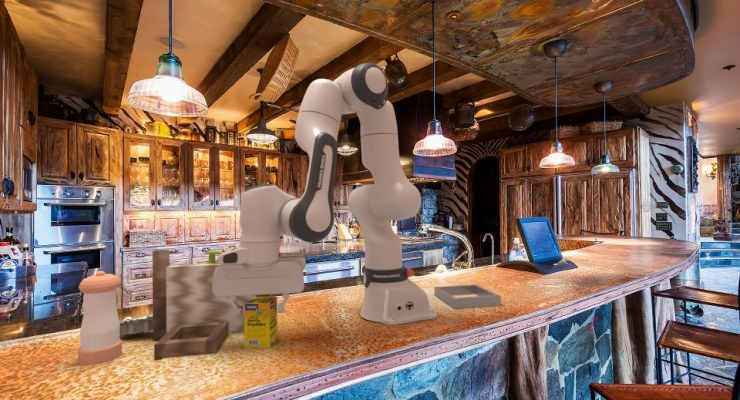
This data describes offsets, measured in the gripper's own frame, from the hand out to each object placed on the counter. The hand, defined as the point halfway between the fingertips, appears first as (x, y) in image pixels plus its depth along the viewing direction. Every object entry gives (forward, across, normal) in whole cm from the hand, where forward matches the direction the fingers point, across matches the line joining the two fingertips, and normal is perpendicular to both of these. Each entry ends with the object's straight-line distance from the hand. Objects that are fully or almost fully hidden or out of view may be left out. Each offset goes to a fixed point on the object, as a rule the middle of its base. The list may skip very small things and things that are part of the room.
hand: (260, 313), depth 78 cm
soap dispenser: (+8, +15, -21) cm, 27 cm away
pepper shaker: (+8, +33, 0) cm, 34 cm away
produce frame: (+7, -63, -24) cm, 68 cm away
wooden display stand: (+8, +15, -2) cm, 17 cm away
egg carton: (+9, +32, -15) cm, 36 cm away
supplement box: (+8, 0, 0) cm, 8 cm away
